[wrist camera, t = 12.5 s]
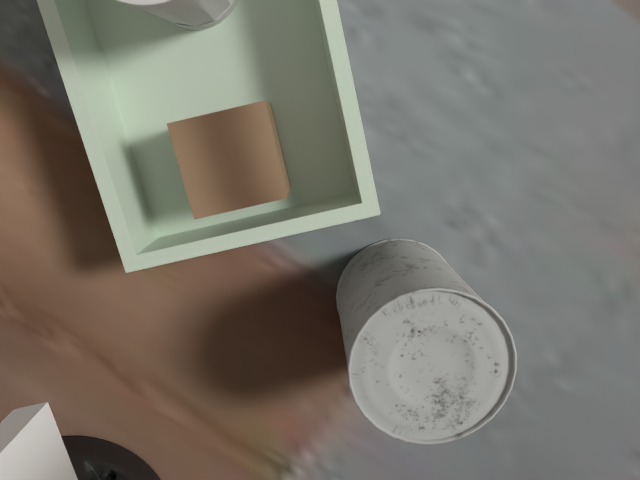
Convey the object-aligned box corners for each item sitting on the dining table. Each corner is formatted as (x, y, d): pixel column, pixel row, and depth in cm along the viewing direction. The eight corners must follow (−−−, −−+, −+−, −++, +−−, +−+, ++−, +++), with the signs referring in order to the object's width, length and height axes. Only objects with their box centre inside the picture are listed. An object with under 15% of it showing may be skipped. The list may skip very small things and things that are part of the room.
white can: (322, 337, 42) (328, 425, 30) (354, 224, 40) (374, 269, 28) (435, 364, 42) (485, 460, 31) (472, 254, 40) (541, 310, 28)
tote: (152, 250, 40) (125, 272, 34) (45, -92, 34) (-8, -136, 29) (369, 200, 39) (380, 214, 33) (295, -155, 34) (293, -212, 28)
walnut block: (211, 204, 38) (194, 219, 32) (188, 123, 37) (166, 123, 31) (290, 186, 38) (287, 198, 32) (270, 103, 37) (263, 100, 31)
